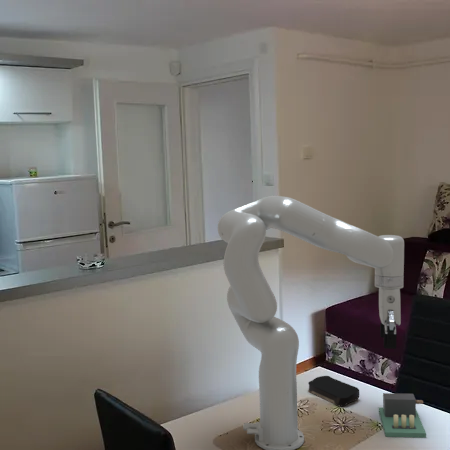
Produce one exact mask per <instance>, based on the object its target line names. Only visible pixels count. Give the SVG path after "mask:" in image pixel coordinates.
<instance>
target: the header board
mask: <svg viewBox="0 0 450 450" xmlns="http://www.w3.org/2000/svg"><path fill="white" fill-rule="evenodd" d="M378 414H379V418H380V421H381V425H382V428H383V431H384V435H385V437H387V438H424V439H425V438H427V432H426V430H425V427H424V425H423V423H422V420H421V418H420V415H419V413H418V410H417V409H416V418H415V417H414V415H409V417H406V415H401V417H398V415H396V414H395V415H394V417H385V415H384V411H383V407H380V406H379V407H378Z"/></svg>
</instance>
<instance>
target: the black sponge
mask: <svg viewBox="0 0 450 450" xmlns="http://www.w3.org/2000/svg"><path fill="white" fill-rule="evenodd" d="M308 392H310V394H313V395H315V394H316V395H315V396H317V395H318V397H319V396H320V397H319V398H321V397H322V399H323V398H324V399H323V400H326V401H328V402H330V403H332V404H335V406H338V407H345V406H346V405H347V404H350V403H351V402H355V401H357V400H358V399H359V397H360V389H359V387H356V386H354V385H351V384H348V383H346V382H343V381H341V380H338V379H336V378H334V377H331V376H329V375H321V376H316V377H315V378H314V379H312V380H310V381H308Z"/></svg>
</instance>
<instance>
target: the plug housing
mask: <svg viewBox="0 0 450 450" xmlns="http://www.w3.org/2000/svg"><path fill="white" fill-rule="evenodd" d="M423 404H424V400H422V399H416V397H415V395H414V393H397V392H396V393H388V392H387V393H386V392H385V393H383V395H382V406H383V411H384V415H385V417H394V415H395V414H396V415H398V417H401V415H406V417H409V415H414V417H415V418H416V410H417V406H416V405H423Z"/></svg>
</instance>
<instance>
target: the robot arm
mask: <svg viewBox="0 0 450 450" xmlns="http://www.w3.org/2000/svg"><path fill="white" fill-rule="evenodd" d="M269 229H275V230H279V231H280V232H283V233H286V234H288V235H290V236H292V237H294V238H297V239H299V240H301V241H303V242H306V243H308V244H310V245H313V246H315V247H317V248H320V249H323V250H326V251H329V252H334V253H338V254H341V255H345V256H346V257H347V259H348V260H349V261H351V262H353V263H356V264H359V265H362V266H367V267H371V268H373V269H374V287H375V288H377V289H378V310H379V311H378V312H379V313H378V315H379V319H380V324H379V325H380V328H379V329H380V330H379V334H380V335H379V336H380V337H381V338H383V348H384V349H388V350H389V349H392V350H395V349H397V327H396V326H400V325H401V321H402V319H401V318H402V317H401V316H402V315H401V313H402V312H401V308H402V307H401V289H403V288H404V277H405V276H404V273H405V272H404V271H405V270H404V268H405V266H404V265H405V240H404V238H403V237H402V236H400V235H397V234H396V235H394V234H382V235H379V236H378V235H376V234H373V233H372V232H369V231H367V230H364V229H362V228H360V227H357V226H355V225H352V224H349V223H348V222H345V221H343V220H342V219H340V218H339V219H338V218H336V217H333V216H331V215H329V214H326V213H324V212H322V211H320V210H318V209H316V208H314V207H312V206H310V205H308V204H306V203H304V202H301V201H299V200H297V199H294V198H292V197H289V196H283V195H282V196H281V195H268V196H264V197H261V198H260V199H257V200H254V201H252V202H249V203H246V204H245V205H241V206H239V207H236V208H234V209H231V210H229V211H227V212H226V213H224V214H222V216H220V218H219V221H218V222H217V233H218V235H219V237H220V239H221V240H222V241H224V242H225V243H226V244H227V245H226V248H225V251H224V256H223V270H224V274H225V276H226V279H227V280H228V283H229V285H230V286H229V288H228V290H227V293H226V302H227V305H228V308H229V310H230V313H231V314H232V316H233V318H234V320H235V322H236V324H237V325H238V327H239V329H240V331H241V333H242V336H243V337H244V338H245V340H246V341H247V342H248V343H249V344H250V345H251V346H252V347H254V348H256V350H258V351H259V352H260V354H261V358H260V363H259V367H258V386H259V387H258V391H259V392H258V393H259V396H258V397H259V421H256V422H255V423H254V422H253V423H251V422H243V427H242V428H243V431H246V432H247V433H246V434H247V435H254V442H255V444H256V445H257V446H258V447H260V448H261V449H263V450H296V449H299V448H300V447H301V446H303V444H304V443H305V435H304V433H303V431H301V430H299V426H298V425H299V424H298V423H299V421H298V420H299V419H298V393H297V392H298V390H297V388H298V387H297V383H298V382H297V361H298V354H299V347H300V341H299V336H298V334H297V332H296V330H295V329H294V327H293V326H292V325H291V324H289V323H288V322H286V321H284V320H282V319H280V318H279V317H276V315H277V311H278V310H277V309H278V303H277V300H276V297H275V294H274V292H273V291H272V289H271V287H270V285H269V282H268V280H267V278H266V276H265V274H264V273H263V270H262V267H261V265H260V262H259V261H260V260H259V255H260V250H261V248H262V246H263V244H264V242H265V240H266V237H267V230H269Z"/></svg>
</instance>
